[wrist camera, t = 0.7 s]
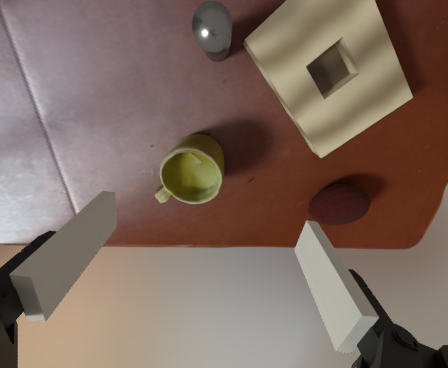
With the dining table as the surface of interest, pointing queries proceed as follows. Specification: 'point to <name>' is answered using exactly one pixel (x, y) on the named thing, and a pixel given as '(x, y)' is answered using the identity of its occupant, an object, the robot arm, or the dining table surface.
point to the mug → (192, 171)
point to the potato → (339, 204)
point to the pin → (213, 29)
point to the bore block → (329, 67)
